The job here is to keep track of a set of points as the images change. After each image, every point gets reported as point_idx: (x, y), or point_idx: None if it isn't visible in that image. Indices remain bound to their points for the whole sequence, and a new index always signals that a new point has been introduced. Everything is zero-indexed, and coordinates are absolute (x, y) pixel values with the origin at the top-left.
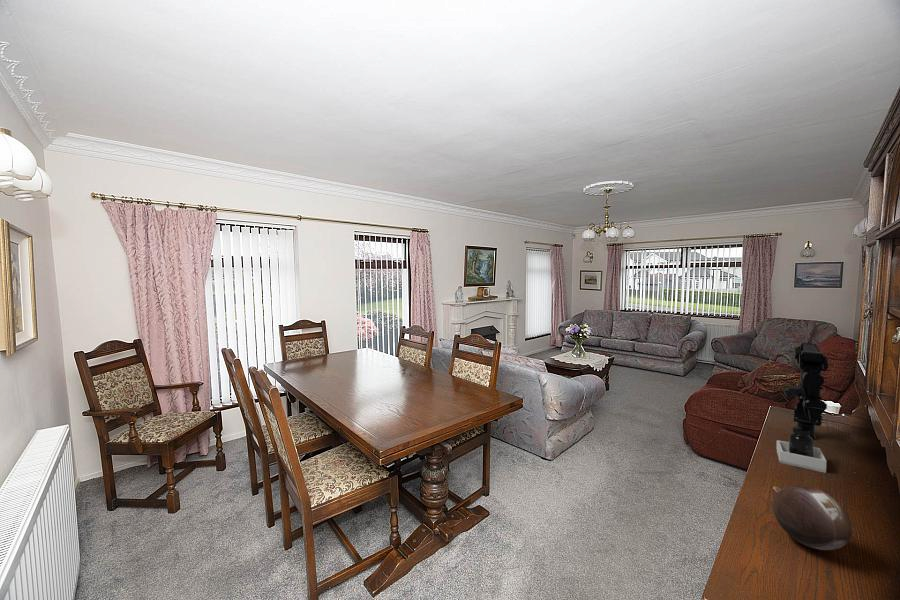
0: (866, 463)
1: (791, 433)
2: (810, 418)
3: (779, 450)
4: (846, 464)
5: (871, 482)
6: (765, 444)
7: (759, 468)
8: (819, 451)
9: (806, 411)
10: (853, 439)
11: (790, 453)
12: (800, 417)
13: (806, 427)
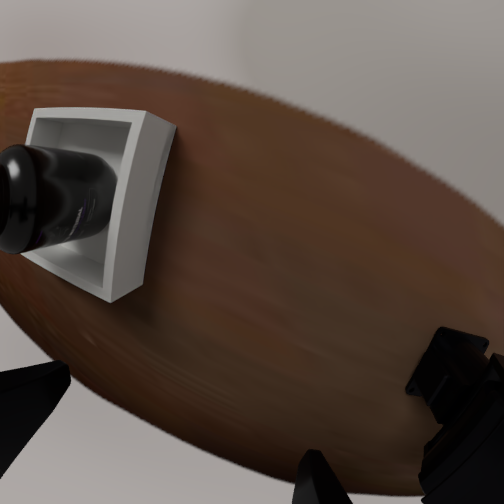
0: (188, 424)
1: (9, 155)
2: (21, 370)
3: (50, 108)
4: (142, 359)
5: (51, 335)
6: (250, 96)
7: (37, 66)
8: (73, 276)
9: (309, 501)
10: (412, 475)
11: (26, 142)
12: (475, 403)
13: (443, 391)
